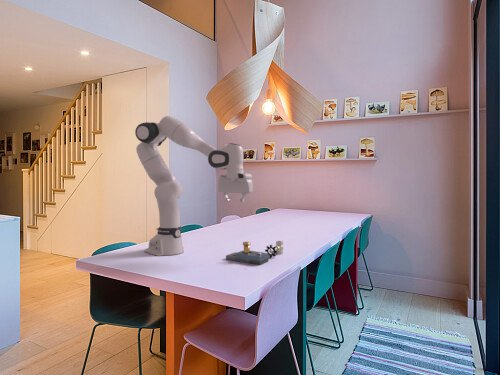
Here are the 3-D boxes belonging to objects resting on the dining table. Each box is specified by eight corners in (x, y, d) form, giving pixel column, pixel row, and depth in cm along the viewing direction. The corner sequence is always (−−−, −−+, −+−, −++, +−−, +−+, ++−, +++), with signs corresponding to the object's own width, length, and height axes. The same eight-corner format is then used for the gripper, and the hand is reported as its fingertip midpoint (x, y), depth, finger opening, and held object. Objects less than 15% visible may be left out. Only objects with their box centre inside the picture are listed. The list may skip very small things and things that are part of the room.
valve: (275, 252, 185) (265, 256, 175) (275, 240, 185) (264, 244, 175) (286, 253, 182) (276, 258, 172) (286, 241, 182) (276, 245, 171)
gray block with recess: (226, 259, 170) (225, 250, 170) (235, 256, 177) (235, 247, 177) (260, 265, 159) (260, 255, 159) (268, 261, 166) (268, 252, 166)
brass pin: (241, 260, 168) (241, 242, 167) (245, 259, 171) (245, 241, 170) (247, 261, 166) (247, 243, 165) (252, 260, 169) (251, 242, 168)
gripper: (215, 174, 178) (215, 201, 178) (247, 175, 167) (247, 203, 167) (222, 174, 183) (222, 200, 184) (254, 175, 172) (254, 202, 173)
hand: (234, 201), depth 175 cm, fingers open, 8 cm apart
